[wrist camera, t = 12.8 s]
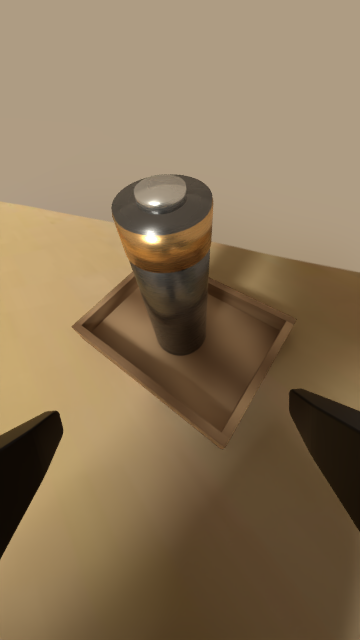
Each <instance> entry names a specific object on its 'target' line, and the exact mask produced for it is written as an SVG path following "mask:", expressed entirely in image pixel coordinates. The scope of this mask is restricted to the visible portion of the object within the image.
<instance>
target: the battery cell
mask: <svg viewBox="0 0 360 640" xmlns="http://www.w3.org/2000/svg"><path fill="white" fill-rule="evenodd" d="M112 217H113V219H114V222H115V225H116V228H117V231H118V233H119V236H120V239H121V242H122V245H123V247H124V250H125V253H126V255H127V257H128V259H129V261H130V264H131V267H132V270H133V273H134V275H135V278H136V281H137V284H138V287H139V290H140V292H141V295H142V298H143V301H144V304H145V306H146V309H147V312H148V315H149V318H150V321H151V323H152V326H153V329H154V332H155V335H156V338H157V340H158V343H159V345H160V346H161V348H162V349H163V350H165V351H166V352H168V353H170V354H172V355H178V356H183V355H188V354H191V353H193V352H195V351H196V350H198V349H199V348H200V347H201V345H202V344H203V342H204V340H205V336H206V318H207V297H208V277H209V257H210V246H211V235H212V217H213V198H212V193H211V191H210V189H209V188H208V187H207V186H206V185H205V184H204V183H203V182H201V181H199V180H197V179H195V178H192V177H188V176H184V175H155V176H151V177H148V178H145V179H141V180H139V181H136V182H134V183H132V184H130V185H128V186H127V187H125V188H124V189H123V190H121V191H120V192H119V193H118V194H117V196H116V197H115V198H114V200H113V203H112Z"/></svg>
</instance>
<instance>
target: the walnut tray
mask: <svg viewBox="0 0 360 640" xmlns="http://www.w3.org/2000/svg"><path fill="white" fill-rule="evenodd" d="M296 320H297V319H295V318H293V317H291V316H289V315H287V314H285V313H283V312H280V311H278V310H276V309H274V308H272V307H270V306H268V305H266V304H264V303H262V302H259V301H257V300H255V299H253V298H251V297H249V296H247V295H245V294H243V293H240V292H238V291H236V290H234V289H232V288H230V287H228V286H226V285H224V284H222V283H219V282H217V281H215V280H213V279H211V278H209V277H208V297H207V318H206V336H205V340H204V342H203V344H202V345H201V347H200V348H199V349H198V350H196V351H195V352H193V353H191V354H188V355H183V356H178V355H172V354H170V353H168V352H166V351H165V350H163V349H162V348H161V346H160V345H159V343H158V340H157V338H156V335H155V332H154V329H153V326H152V323H151V321H150V318H149V315H148V312H147V309H146V306H145V304H144V301H143V298H142V295H141V292H140V290H139V287H138V284H137V281H136V278H135V275H134V273H133V272H132V273H131V274H129V275H128V276H127V277H126V278H125V279H124V280H123V281H122V282H121V283H119V284H118V285H117V286H116V287H115V288H114V289H113V290H112V291H111V292H109V293H108V294H107V295H106V296H105V297H104V298H103V299H102V300H101V301H99V302H98V303H97V304H96V305H95V306H94V307H93V308H92V309H91V310H89V311H88V312H87V313H86V314H85V315H84V316H83V317H82V318H81V319H79V320H78V321H77V322H76V323H75V324H74V325H73V326H72V328H73V329H74V330H75V331H76V332H77V333H78V334H79V335H80V336H81V337H82V338H83V339H84V340H85V341H87V342H88V343H89V344H90V345H92V346H93V347H94V348H95V349H97V350H98V351H99V352H100V353H102V354H103V355H104V356H105V357H107V358H108V359H109V360H110V361H112V362H113V363H114V364H116V365H117V366H118V367H119V368H121V369H122V370H123V371H124V372H126V373H127V374H128V375H129V376H131V377H132V378H133V379H134V380H136V381H137V382H138V383H139V384H141V385H142V386H143V387H144V388H146V389H147V390H148V391H149V392H151V393H152V394H153V395H154V396H156V397H157V398H158V399H159V400H161V401H162V402H163V403H164V404H166V405H167V406H168V407H169V408H171V409H172V410H173V411H174V412H176V413H177V414H178V415H179V416H181V417H182V418H183V419H184V420H186V421H187V422H188V423H189V424H191V425H192V426H193V427H194V428H196V429H197V430H198V431H199V432H201V433H202V434H203V435H204V436H206V437H207V438H208V439H209V440H211V441H212V442H213V443H214V444H216V445H217V446H218V447H219V448H221V449H224V448H225V447H226V445H227V444H228V442H229V440H230V438H231V436H232V435H233V433H234V431H235V429H236V427H237V426H238V424H239V422H240V420H241V418H242V417H243V415H244V413H245V411H246V410H247V408H248V406H249V404H250V402H251V401H252V399H253V397H254V395H255V393H256V392H257V390H258V388H259V386H260V384H261V383H262V381H263V379H264V377H265V376H266V374H267V372H268V370H269V368H270V367H271V365H272V363H273V361H274V359H275V358H276V356H277V354H278V352H279V350H280V349H281V347H282V345H283V343H284V342H285V340H286V338H287V336H288V334H289V333H290V331H291V329H292V327H293V325H294V324H295V322H296Z"/></svg>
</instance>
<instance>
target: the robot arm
mask: <svg viewBox="0 0 360 640" xmlns="http://www.w3.org/2000/svg"><path fill="white" fill-rule="evenodd" d="M289 411H290V415H291V417H292V419H293V421H294V423H295V425H296V427H297V429H298V431H299V433H300V435H301V437H302V439H303V441H304V443H305V445H306V446H307V448H308V450H309V452H310V454H311V456H312V457H313V459H314V461H315V462H316V464H317V465H318V467H319V469H320V470H321V472H322V473H323V475H324V476H325V478H326V480H327V481H328V483H329V484H330V486H331V487H332V489H333V491H334V492H335V494H336V495H337V497H338V498H339V500H340V502H341V503H342V505H343V506H344V508H345V509H346V511H347V513H348V514H349V516H350V517H351V519H352V520H353V522H354V524H355V525H356V527H357V528H358V530H359V531H360V411H358V410H355V409H353V408H350V407H347V406H345V405H342V404H340V403H337V402H335V401H332V400H330V399H327V398H324V397H322V396H319V395H317V394H314V393H312V392H309V391H307V390H304V389H292V390H290V392H289ZM62 435H63V426H62V422H61V418H60V414H59V412H58V411H47V412H44V413H43V414H41V415H39V416H37V417H35V418H33V419H31V420H29V421H27V422H25V423H23V424H21V425H20V426H18V427H16V428H14V429H12V430H10V431H8V432H6V433H4V434H2V435H0V559H1V557H2V555H3V553H4V551H5V549H6V548H7V546H8V544H9V542H10V540H11V538H12V536H13V535H14V533H15V531H16V529H17V527H18V525H19V523H20V521H21V520H22V518H23V516H24V514H25V512H26V510H27V508H28V507H29V505H30V503H31V501H32V499H33V497H34V495H35V494H36V492H37V490H38V488H39V486H40V484H41V482H42V480H43V478H44V476H45V474H46V472H47V470H48V468H49V465H50V463H51V461H52V458H53V456H54V454H55V452H56V449H57V447H58V445H59V442H60V440H61V438H62Z"/></svg>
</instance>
